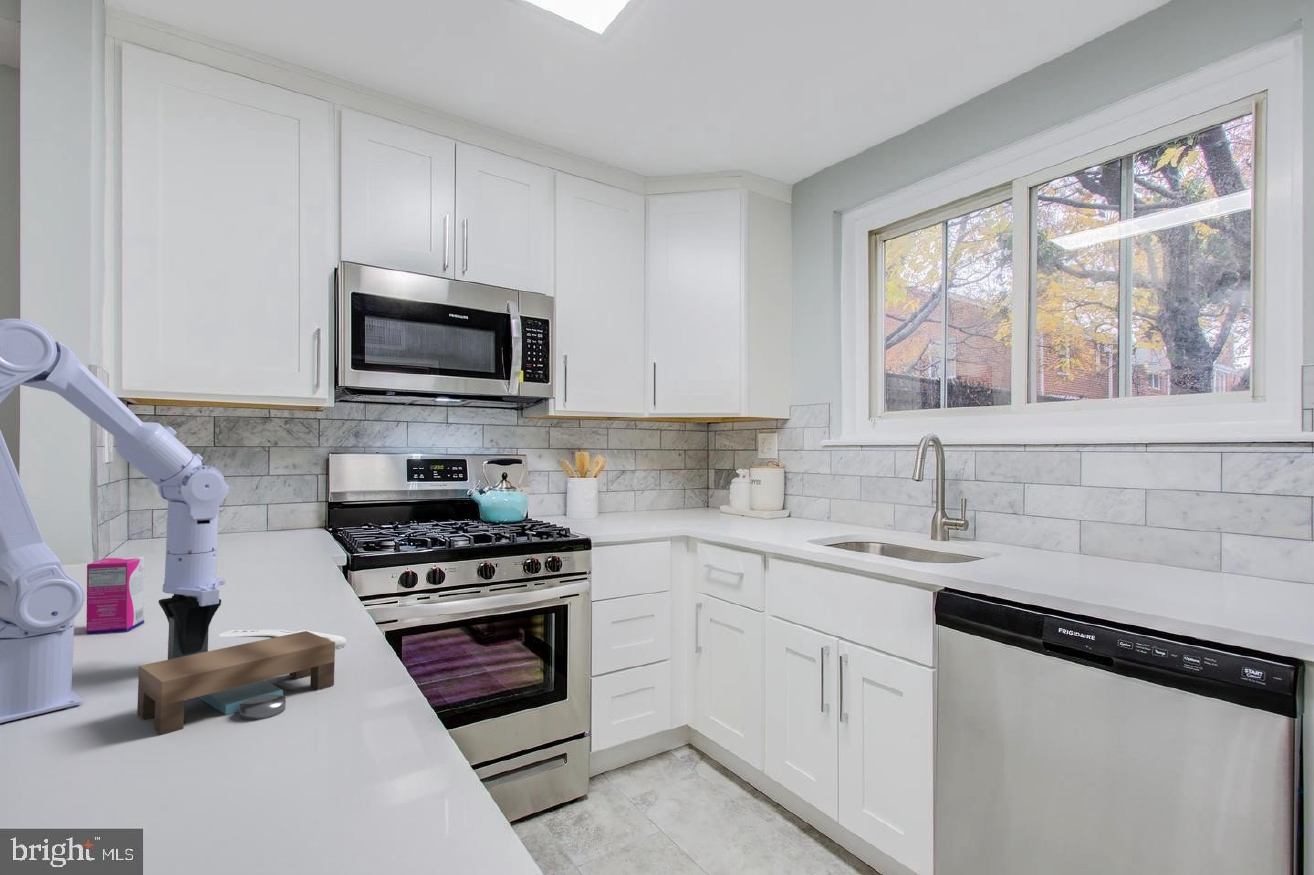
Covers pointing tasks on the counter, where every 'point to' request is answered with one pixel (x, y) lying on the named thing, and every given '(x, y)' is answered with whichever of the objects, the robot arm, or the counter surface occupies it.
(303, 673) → the low wooden stool
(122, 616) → the supplement box
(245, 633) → the knife
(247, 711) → the steel token
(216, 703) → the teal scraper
